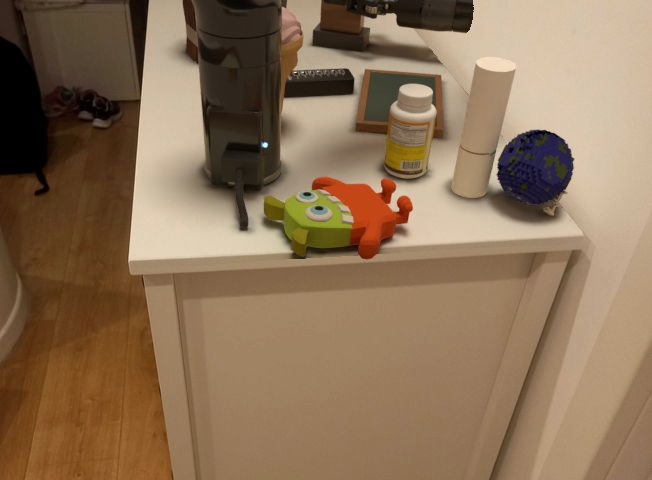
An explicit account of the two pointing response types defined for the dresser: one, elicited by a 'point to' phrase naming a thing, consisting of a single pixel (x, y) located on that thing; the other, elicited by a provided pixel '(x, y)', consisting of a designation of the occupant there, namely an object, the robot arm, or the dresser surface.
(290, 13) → the ice cream cone
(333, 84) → the multiport hub
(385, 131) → the chalkboard
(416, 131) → the supplement bottle
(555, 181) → the globe
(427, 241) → the dresser surface
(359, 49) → the duster
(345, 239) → the toy
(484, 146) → the tube
